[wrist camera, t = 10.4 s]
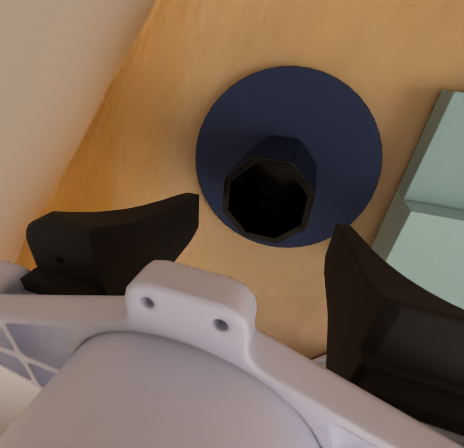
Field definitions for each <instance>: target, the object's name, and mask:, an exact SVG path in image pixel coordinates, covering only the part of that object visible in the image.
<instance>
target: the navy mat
mask: <svg viewBox="0 0 464 448" xmlns="http://www.w3.org/2000/svg"><path fill="white" fill-rule="evenodd" d="M271 135H274V136H281V137H288V138H295V139H300V140H301V141H302V143H303V144H304V146H305V147H306V149H307V150H308V152H309V153H310V155H311V156H312V158H313V159H314V160H315V162H316V197H315V201H314V205H313V208H312V212H311V215H310V219H309V223H308V226H307V228H306V229H305V230H303V231H301V232H299V233H297V234H295V235H293V236H291V237H289V238H287V239H285V240H283V241H281V242H279V243H276V244H274V243H270V242H265V241H261V240H257V239H252V238H248V237H245V238H247V239H249V240H251V241H254V242H257V243H260V244H264V245H268V246H274V247H286V248H291V247H302V246H307V245H312V244H315V243H318V242H321V241H323V240H326V239H328V238H330V237H332V235H333V232H334V229H335V227H336V224H337V223H339V224H344V225H350V224H351V223H352V222H353V221H354V220H355V219H356V218H357V217H358V216H359V215H360V214H361V212H362V211H363V210H364V209H365V207H366V206H367V204H368V203H369V201H370V199H371V198H372V196H373V194H374V191H375V189H376V187H377V184H378V180H379V177H380V173H381V165H382V145H381V139H380V134H379V130H378V128H377V125H376V122H375V119H374V118H373V116H372V114H371V112H370V110H369V108H368V107H367V105H366V104H365V103H364V102H363V100H362V99H361V98H360V96H359V95H358V94H356V93H355V92H354V91H353V90H352V89H351V88H350V87H349V86H348V85H346V84H345V83H343V82H342V81H340V80H339V79H337V78H335V77H333V76H331V75H329V74H327V73H324V72H322V71H318V70H314V69H311V68H305V67H297V66H285V67H275V68H270V69H265V70H262V71H259V72H256V73H254V74H251V75H249V76H247V77H245V78H243V79H242V80H240V81H238V82H237V83H236V84H234V85H233V86H231V87H230V88H229V89H228V90H227V91H225V92H224V93H223V94H222V95H221V96H220V97H219V99H218V100H217V101H216V102H215V103H214V105H213V106H212V107H211V109H210V111H209V112H208V114H207V116H206V117H205V120H204V122H203V124H202V127H201V129H200V133H199V136H198V140H197V147H196V171H197V176H198V181H199V184H200V187H201V190H202V193H203V195H204V197H205V199H206V201H207V202H208V204H209V206H210V207H211V209H212V210H213V211H214V213H215V214H216V215H217V216H218V218H219V219H220V220H221V221H222V222H223V223H224V224H226V225H227V226H228V227H229V228H231V229H232V230H233V231H235V232H236V233H238V234H239V235H241V236H242V234H241V233H240V232H239V231H238V230H237V228H236V227H235V226H234V225H233V224H232V222H231V221H230V220H229V219H228V217H227V216H226V215H225V214H224V213H223V210H222V203H223V189H224V179H225V177H226V176H227V175H228V174H229V172H230V171H231V170H232V169H233V168H234V167H235V166H236V165H237V164H238V163H239V162H240V160H241V159H242V158H243V157H244V156H245V155H246V154H247V153H248V152H249V151H250V150H251V149H253V148H254V147H255V146H257V145H258V144H259V143H261V142H262V141H263V140H264V139H266V138H267V137H268V136H271ZM250 179H251V178H250ZM243 237H244V236H243Z"/></svg>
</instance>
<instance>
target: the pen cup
mask: <svg viewBox="0 0 464 448" xmlns="http://www.w3.org/2000/svg"><path fill="white" fill-rule="evenodd" d="M250 178H251V179H250ZM315 197H316V162H315V160H314V159H313V158H312V156H311V155H310V153H309V152H308V150H307V149H306V147H305V146H304V144H303V143H302V141H301V140H300V139H295V138H288V137H281V136H274V135H271V136H268V137H267V138H266V139H264V140H263V141H262V142H261V143H259V144H258V145H257V146H255V147H254V148H253V149H251V150H250V151H249V152H248V153H247V154H246V155H245V156H244V157H243V158H242V159H241V160H240V162H239V163H238V164H237V165H236V166H235V167H234V168H233V169H232V170H231V171H230V172H229V174H228V175H227V176H226V177H225V179H224V189H223V203H222V210H223V213H224V214H225V215H226V216H227V217H228V219H229V220H230V221H231V222H232V224H233V225H234V226H235V227H236V228H237V230H238V231H239V232H240V233H241V234H242V236H244V237H248V238H252V239H257V240H261V241H265V242H270V243H274V244H276V243H279V242H281V241H283V240H285V239H287V238H289V237H291V236H293V235H295V234H297V233H299V232H301V231H303V230H305V229H306V228H307V226H308V223H309V219H310V215H311V212H312V208H313V205H314V201H315Z"/></svg>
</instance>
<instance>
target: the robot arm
mask: <svg viewBox="0 0 464 448" xmlns="http://www.w3.org/2000/svg"><path fill="white" fill-rule="evenodd" d="M198 224H199V195H198V194H193V193H184V194H180V195H177V196H173V197H170V198H167V199H164V200H161V201H157V202H154V203H150V204H147V205H143V206H138V207H134V208H128V209H122V210H113V211H103V212H58V211H53V212H50V213H48V214H46V215H44V216H42V217H40V218H38V219H36V220H34V221H32V222H31V223H30V224H29V225H28V227H27V231H26V238H27V241H28V245H29V247H30V250H31V252H32V255H33V257H34V260H35V262H36V265H37V266H38V267H36V268H35V269H33V270H32V271H29V270H28V269H27V268H25V267H23V266H21V265H17V264H14V263H11V262H8V261H3V260H2V261H0V366H2V367H3V368H5V369H7V370H9V371H11V372H13V373H14V374H16V375H18V376H20V377H21V378H23V379H25V380H26V381H28V382H30V383H32V384H33V385H35V386H37V387H39V388H40V389H42V390H41V391H40V392H39V393H38V395H37V396H36V397H35V398H34V399H33V400H32V401H31V403H30V404H29V405H28V406H27V407H26V408H25V409H24V411H23V412H22V413H21V414H20V415H19V416H18V417H17V418H16V419H15V421H14V422H13V423H12V424H11V425H10V426H9V427H8V429H7V430H6V431H5V432H4V433H3V434H2V435H1V436H0V448H464V309H462V308H460V307H457V306H455V305H453V304H451V303H449V302H447V301H445V300H443V299H441V298H440V297H438V296H436V295H434V294H432V293H430V292H429V291H427V290H425V289H424V288H422V287H420V286H419V285H417V284H416V283H414V282H412V281H411V280H409V279H408V278H406V277H405V276H404V275H402V274H401V273H399V272H398V271H397V270H396V269H394V268H393V267H392V266H390V265H389V264H388V263H387V262H386V261H384V260H383V259H382V258H381V257H380V256H379V255H378V254H377V253H376V252H375V251H374V250H373V249H372V248H371V247H370V246H369V245H368V244H367V243H366V242H365V241H364V240H363V239H362V238H361V237H360V236H359V234H358V233H357V232H356V231H355V230H354V229H353V228H352V227H351V226H349V225H344V224H339V223H337V224H336V227H335V229H334V232H333V235H332V238H331V241H330V244H329V247H328V250H327V253H326V256H325V268H324V276H325V287H326V298H327V309H328V332H327V354H326V355H323V356H321V357H318V358H315V359H312V360H311V359H309V358H307V357H305V356H304V355H302V354H300V353H298V352H297V351H295V350H293V349H291V348H290V347H288V346H286V345H284V344H283V343H281V342H279V341H277V340H276V339H274V338H272V337H270V336H269V335H267V334H265V333H263V332H262V331H260V330H258V329H257V328H256V326H255V316H256V311H257V304H256V298H255V295H254V294H253V293H252V292H251V290H250V289H249V288H248V287H247V286H246V285H245V284H243V283H241V282H239V281H237V280H235V279H233V278H231V277H228V276H224V275H220V274H217V273H213V272H209V271H205V270H202V269H198V268H194V267H190V266H187V265H183V264H179V263H175V262H174V261H175V260H176V259H177V258H178V256H179V255H180V254H181V253H182V251H183V250H184V249H185V248H186V246H187V245H188V244H189V242H190V241H191V239H192V238H193V236H194V234H195V232H196V231H197V229H198Z"/></svg>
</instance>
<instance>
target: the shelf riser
mask: <svg viewBox="0 0 464 448" xmlns="http://www.w3.org/2000/svg"><path fill="white" fill-rule="evenodd" d="M371 248H372V249H373V250H374V251H375V252H376V253H377V254H378V255H379V256H380V257H381V258H382V259H383V260H384V261H386V262H387V263H388V264H389V265H390V266H392V267H393V268H394V269H396V270H397V271H398V272H399V273H401V274H402V275H404V276H405V277H406V278H408V279H409V280H411V281H412V282H414V283H416V284H417V285H419V286H420V287H422V288H424V289H425V290H427V291H429V292H430V293H432V294H434V295H436V296H438V297H440V298H441V299H443V300H445V301H447V302H449V303H451V304H453V305H455V306H457V307H460V308H462V309H464V92H460V91H450V90H442V91H441V93H440V95H439V97H438V100H437V102H436V104H435V106H434V109H433V111H432V113H431V115H430V117H429V120H428V122H427V124H426V126H425V129H424V131H423V133H422V135H421V137H420V140H419V142H418V144H417V146H416V149H415V151H414V153H413V155H412V157H411V160H410V162H409V164H408V166H407V169H406V171H405V173H404V175H403V177H402V180H401V182H400V184H399V186H398V189H397V191H396V193H395V195H394V197H393V200H392V202H391V204H390V206H389V208H388V211H387V213H386V215H385V217H384V220H383V222H382V224H381V226H380V228H379V231H378V233H377V235H376V237H375V240H374V242H373V244H372V246H371Z"/></svg>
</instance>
